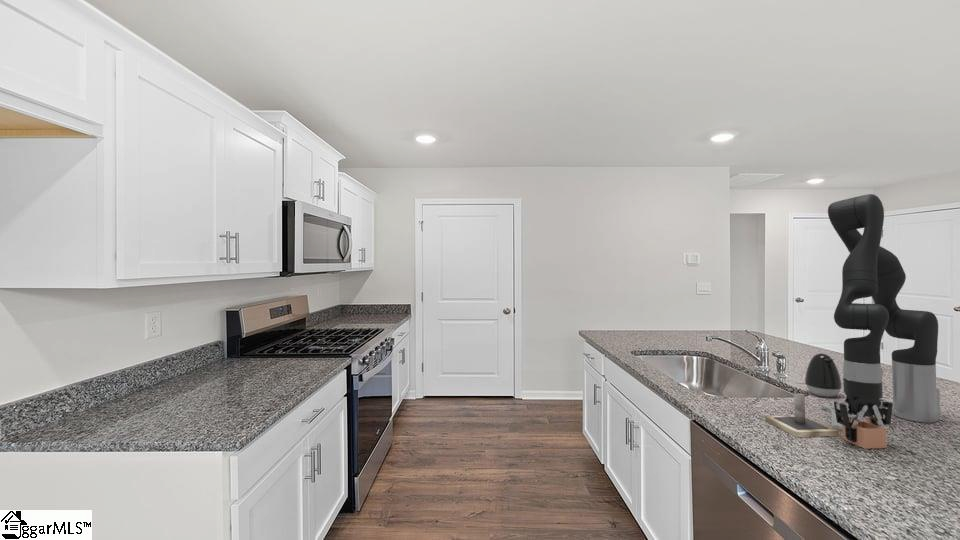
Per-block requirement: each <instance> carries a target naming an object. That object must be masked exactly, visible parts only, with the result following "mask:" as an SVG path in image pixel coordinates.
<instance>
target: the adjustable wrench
mask: <svg viewBox="0 0 960 540" xmlns="http://www.w3.org/2000/svg"><path fill="white" fill-rule="evenodd" d="M822 409H823V411H826V412H828V411H829V412H828V413H830V414H831V428H834V429H836V430H838V431H839V433H842V424H840V423H838V422H837V419H836V414H835V408H834V405H831V404H829V403H828V402H824V403H823V404H822V405H821V410H822Z"/></svg>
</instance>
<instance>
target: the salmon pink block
mask: <svg viewBox="0 0 960 540" xmlns="http://www.w3.org/2000/svg"><path fill="white" fill-rule="evenodd" d="M852 420H853V419H851V421H850V423H851V422H852ZM856 429H857V442H852V441H849V440H848V439H847V438H846V434H845V433H846V432H845V426H844V425H842V432H841V434H842V436H841V437H842V440H844V441H846V442H848V443H850V444H853V445H856V446H857V447H859V448H861V447H862V448H861V449H863V448H864V449H863V450H869V449H870V450H871V448H872V449H887V446H888V445H887V444H888V443H887V442H888V441H887V428H886V427H880V426H878V425H875V424H873V423H870V421H868V420H864V419H862V420H861V421H859V422H858V424H857V426H856Z"/></svg>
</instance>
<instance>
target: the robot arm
mask: <svg viewBox="0 0 960 540" xmlns="http://www.w3.org/2000/svg"><path fill="white" fill-rule="evenodd" d="M884 209H885V208H884V205H883V202H882V200H881V199H880V198H879V196H878V195H876V194H874V193H869V194H863V195H862V194H861V195H859V196H853V197H850V198H846V199H842V200H838V201H837V200H836V201H835V202H834V201H833V202H832V203H830V204H829V205H828V208H827V214H828V215H827V216H828V219H829V222H830V224H831V226H832V227H833V228H834V231H835V233H837V236H838V237H839V238H840V240H841V241H842V242H843V244H844V246H845V247H846V249H847V250H848V253H849V254H848V256H847V258H846V259H845V260H844V263H843V265H842V270H841V272H842V273H841V274H842V282H841V283H842V286H841V287H842V289H841V293H840V294H841V295H840V298H839V300H838V302H837V305H836V308H835V310H834V313H833V320H834V322H835V324H836V325H837V326H838V327H839V328H841V329H845V330H856V331H857V330H859V331H861V330H862V331H869V333H868V334H867V335H864V336H860V337H858V336H857V337H849V338H846V339H844V342H843V366H842V374H843V375H842V376H843V377H842V379H843V380H842V381H843V385H842V386H843V393H844V394H845V400H844V401H840V402H839V401H836V400H835V401H833V406H834V408H835V414H836V419H837V422H838V423H840V424H842V425H844V426H845V432H846V433H845V434H846V438H847V439H848V440H849V441H852V442H857V429H856V426H857V424H858V422H859V421H861V420H863V418H867V419H868V420H869V421H868V422H870V423H873V424H875V425H878V426H880V427H883V428H885V426H886V425H887V426H890V425H891V421H892V414H893V416H895V417H898V418H899V419H900V418H901V419H903V420H908V421H912V422H917V423H919V422H920V423H927V424H928V423H931V424H932V423H937V422H938V421H941V399H940V396H941V394H940V389H939V388H938V387H937V368H936V367H937V364H936V363H937V356H938V355H937V354H938V341H939V320H938V318H937V316H936V315H935V314H934V312H932V311H928V310H918V309H917V310H915V309H904V308H900V306H899V305H898V303H897V296H898V295H899V292H901V290H902V288H903V287H904V285H905V283H906V279H907V275H906V273H905V271H904V268H903V266H902V263H901V262H900V260H899V258H898V257H897V256H896V255H895V254H894V253H893V252H892V251H890V250H889V249H887V248H885V247H882V246H881V241H882V234H883V229H884V227H883V226H884V221H885V210H884ZM858 229H859V230H860V229H863V233H861V232H860V231H859V230H858ZM865 298H872V301H873V302H874V303H860V302H859V303H854V301H857V300H860V299H865ZM885 332H886V334H888V335H889V336H890V337H892V338H894V339H895V338H896V339H902V340H909V341H914V343H913V346H911V347H908V348H903V349H895V350H893V351H891V375H892V376H891V379H892V380H891V381H892V383H891V384H892V385H891V387H892V388H891V389H892V402H891V401H886V400H885V399H882V398H883V393H884V392H883V370H882V369H883V368H882V366H881V365H882V364H881V343H882V339H883V336H884V334H885ZM851 420H852V422H851V423H850V421H851Z"/></svg>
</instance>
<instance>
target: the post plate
mask: <svg viewBox="0 0 960 540" xmlns="http://www.w3.org/2000/svg"><path fill="white" fill-rule="evenodd" d="M793 396H794V397H793V399H794V400H793V401H794V402H793V403H794V415H793V414H791V415H768V416H767V415H765V416H764V421H765V422H766V423H768V424H769V425H772V426H774V427H775V428H777V427H778V428H777V429H779V428H780V430H781V429H782V431H783V432H786V433H787V434H789V435H791V436H793V437H794V438H797V437H799V438H815V437H814V436H829V437H839V436H840V432H839V431H838V430H836V429H834V428H832V426H829V425H827V424H825V423H823V422H820V421H817V420H815V419H813V418H811V417H809V416H807V415H806V402H805V401H806V398H805V394H804V393H800V392H799V393H798V392H797V393H796V392H795V393H794V395H793Z"/></svg>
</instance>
